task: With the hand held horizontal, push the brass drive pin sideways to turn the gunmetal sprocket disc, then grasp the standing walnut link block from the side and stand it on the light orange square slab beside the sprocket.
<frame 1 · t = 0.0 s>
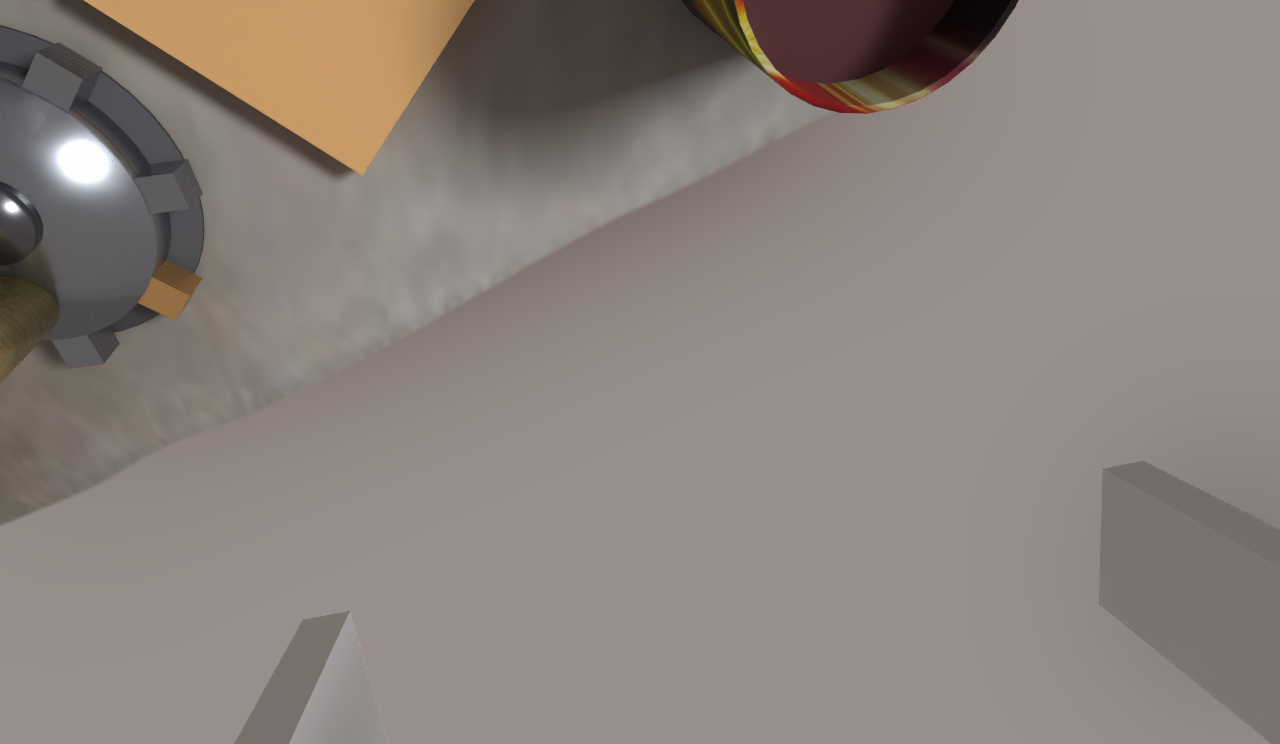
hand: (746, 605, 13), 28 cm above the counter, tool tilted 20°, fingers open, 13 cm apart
sprocket plinth: (24, 195, 34), on the counter
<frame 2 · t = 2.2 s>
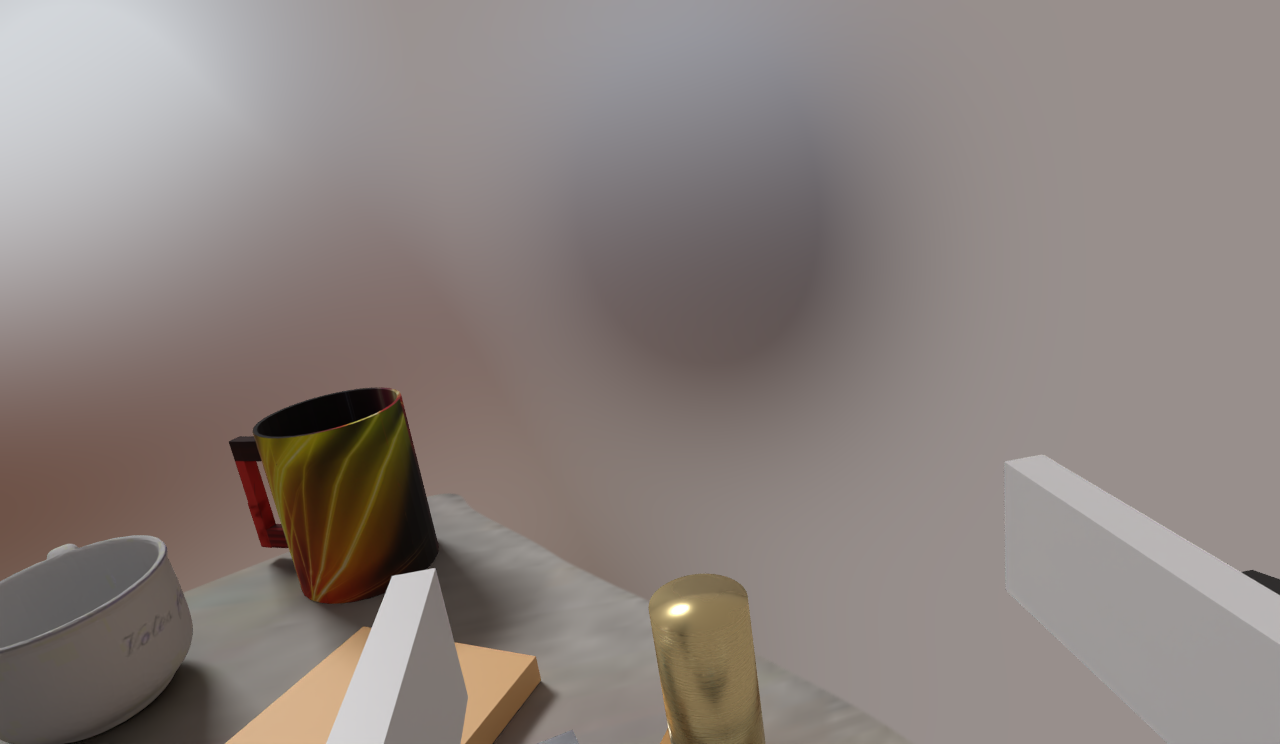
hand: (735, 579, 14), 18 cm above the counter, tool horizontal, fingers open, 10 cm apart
mug: (343, 572, 55), on the counter
teacup: (109, 692, 45), on the counter
light orange square slab: (374, 742, 37), on the counter
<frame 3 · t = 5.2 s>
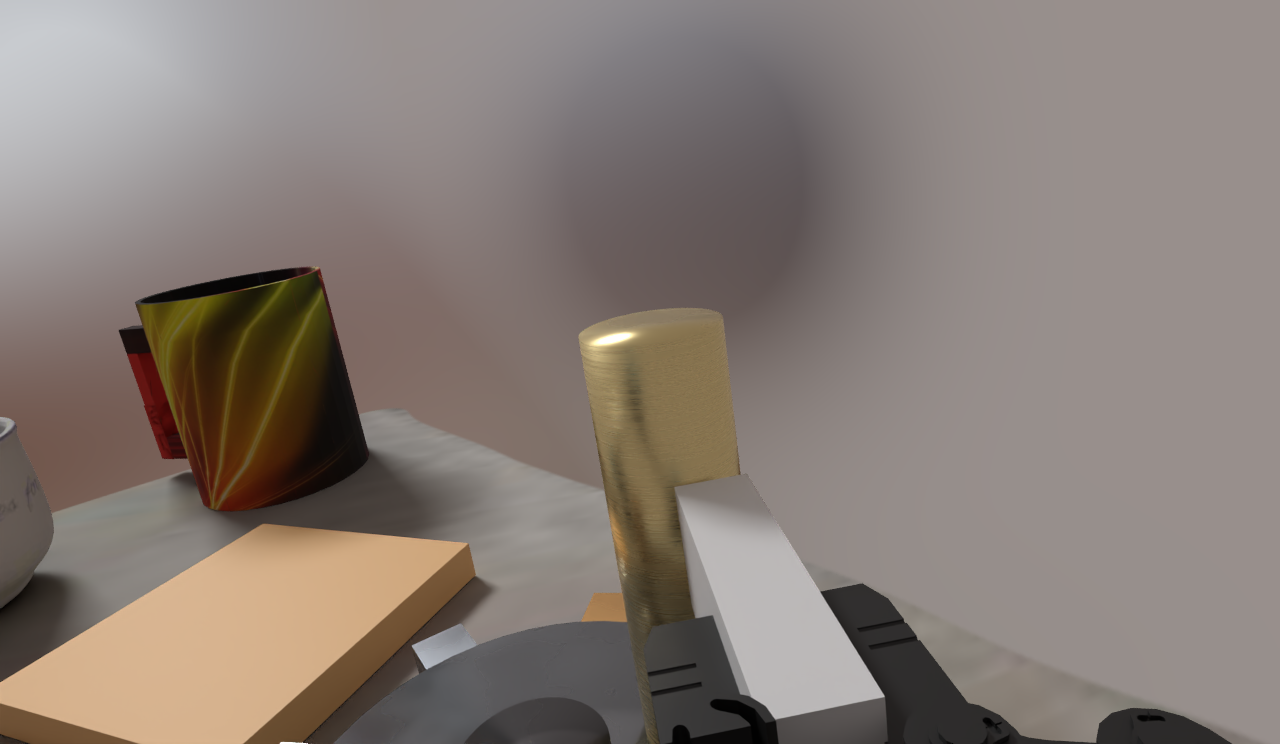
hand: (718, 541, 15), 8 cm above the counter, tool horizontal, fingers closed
mug: (255, 483, 47), on the counter
light orange square slab: (257, 645, 29), on the counter
sprocket: (505, 634, 16), point 7 cm above the counter, hinge at 10.5°, touching gripper
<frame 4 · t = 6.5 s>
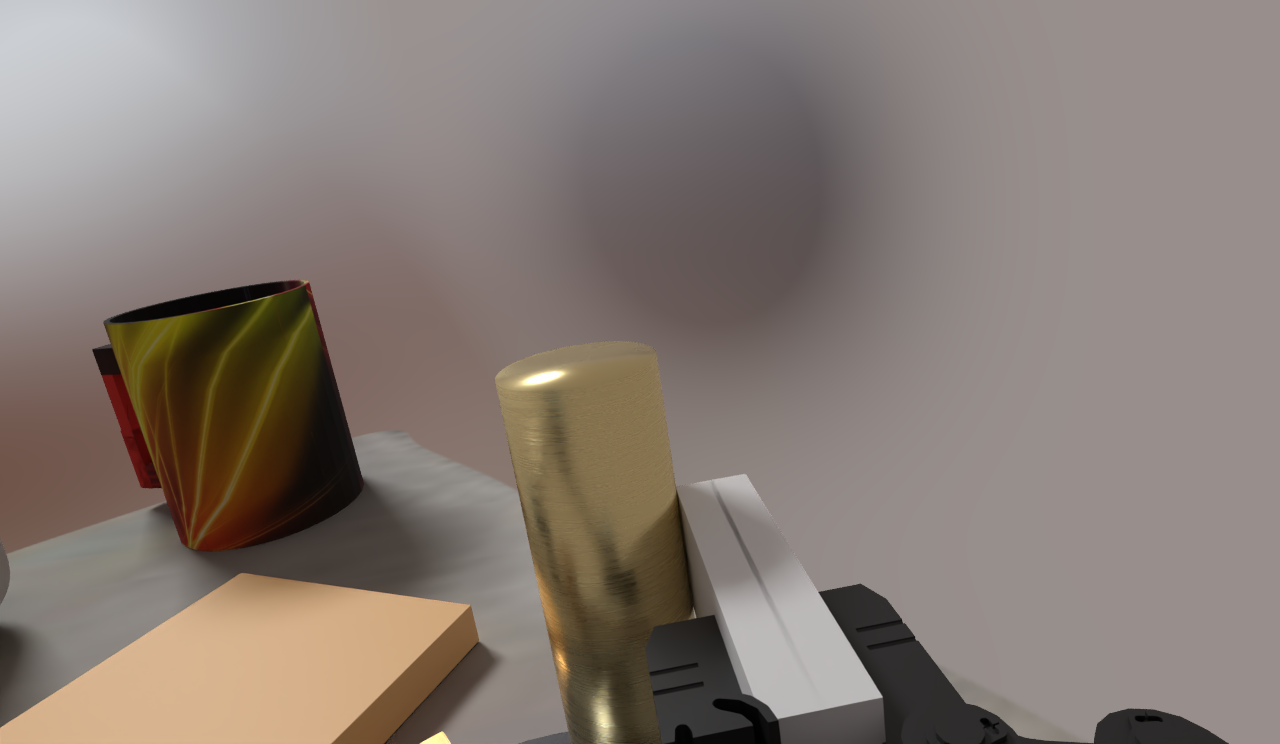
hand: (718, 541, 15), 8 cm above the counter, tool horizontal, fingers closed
mug: (239, 516, 43), on the counter
light orange square slab: (225, 729, 25), on the counter
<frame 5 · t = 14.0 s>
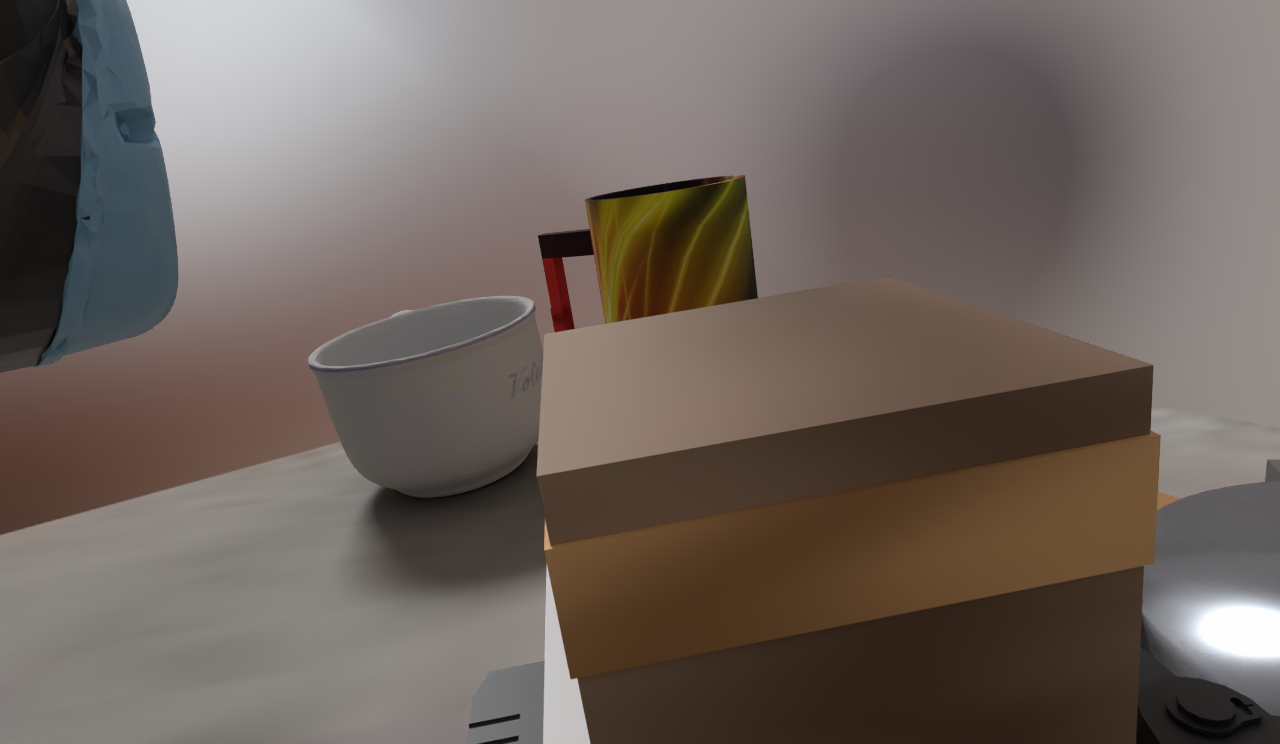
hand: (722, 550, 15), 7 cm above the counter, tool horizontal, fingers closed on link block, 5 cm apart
mug: (658, 384, 49), on the counter
teacup: (458, 465, 40), on the counter
when the fingers open (10 cm above the counter, at t = 18.7 s): link block drops 2 cm, resting on light orange square slab.
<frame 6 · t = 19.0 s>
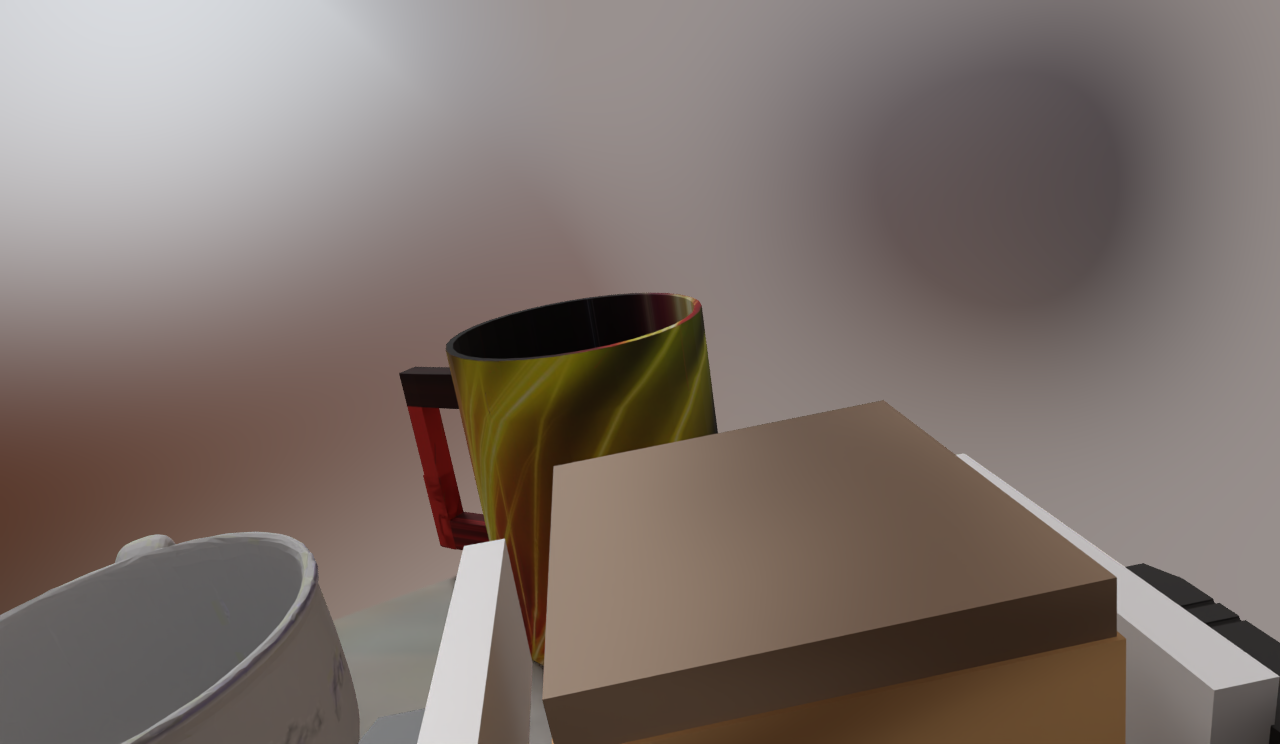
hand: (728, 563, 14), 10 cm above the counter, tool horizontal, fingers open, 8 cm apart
mug: (575, 606, 32), on the counter
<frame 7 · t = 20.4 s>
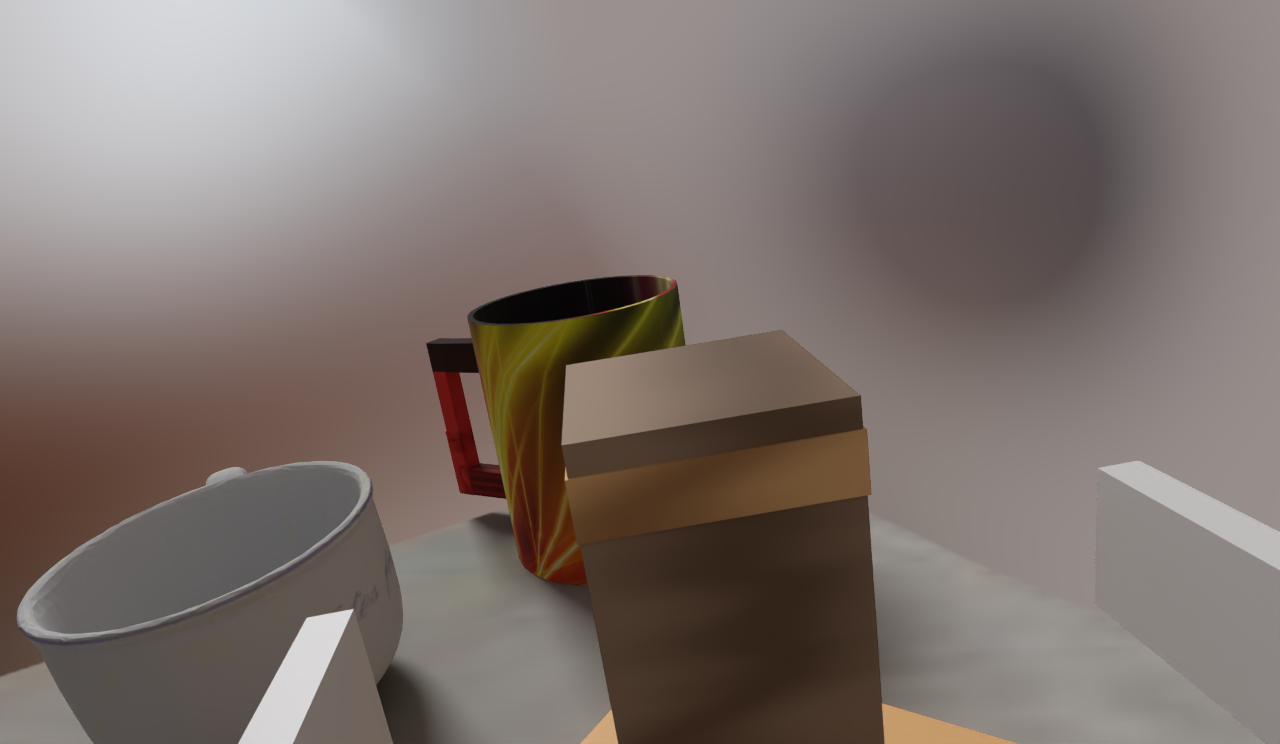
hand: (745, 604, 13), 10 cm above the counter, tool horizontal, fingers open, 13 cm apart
mug: (573, 538, 38), on the counter
teacup: (282, 694, 29), on the counter
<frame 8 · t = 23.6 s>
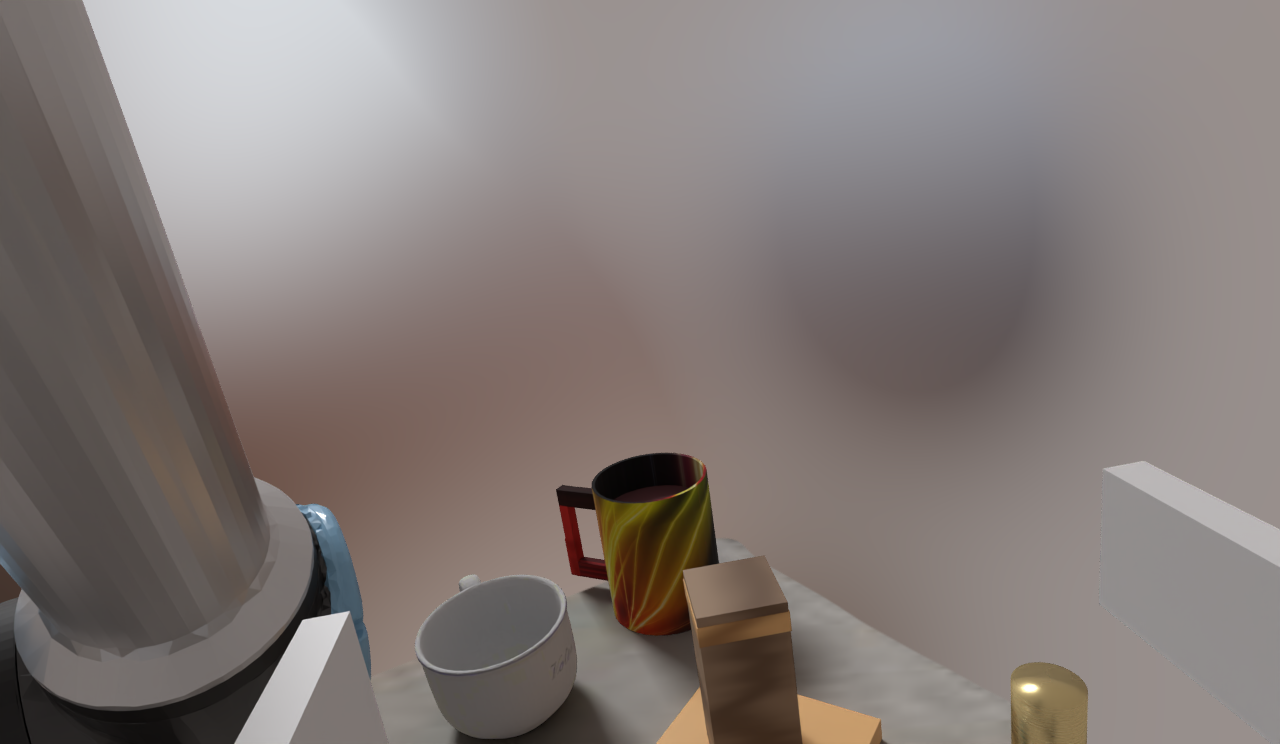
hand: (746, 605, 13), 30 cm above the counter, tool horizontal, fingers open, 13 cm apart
mug: (644, 605, 66), on the counter
teacup: (510, 696, 57), on the counter
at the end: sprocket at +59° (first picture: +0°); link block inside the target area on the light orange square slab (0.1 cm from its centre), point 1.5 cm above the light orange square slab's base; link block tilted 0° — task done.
